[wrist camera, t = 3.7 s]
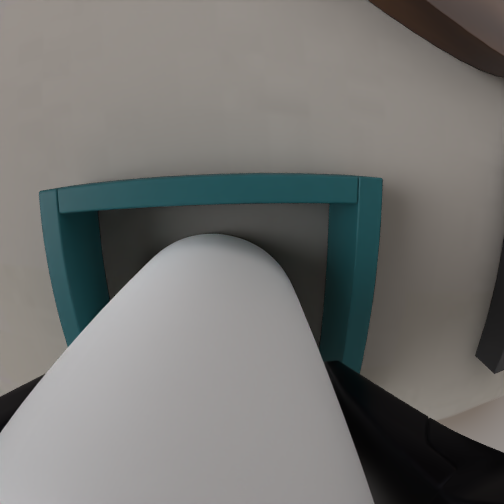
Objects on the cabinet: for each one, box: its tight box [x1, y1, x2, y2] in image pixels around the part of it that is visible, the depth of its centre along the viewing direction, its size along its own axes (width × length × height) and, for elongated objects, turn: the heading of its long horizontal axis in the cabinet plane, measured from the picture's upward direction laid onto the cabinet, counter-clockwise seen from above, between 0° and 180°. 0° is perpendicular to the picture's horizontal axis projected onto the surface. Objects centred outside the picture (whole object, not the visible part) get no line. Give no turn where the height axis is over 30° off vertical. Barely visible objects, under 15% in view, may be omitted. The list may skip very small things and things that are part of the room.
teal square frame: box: [39, 173, 383, 374], centre depth 11 cm, size 11×11×3 cm
